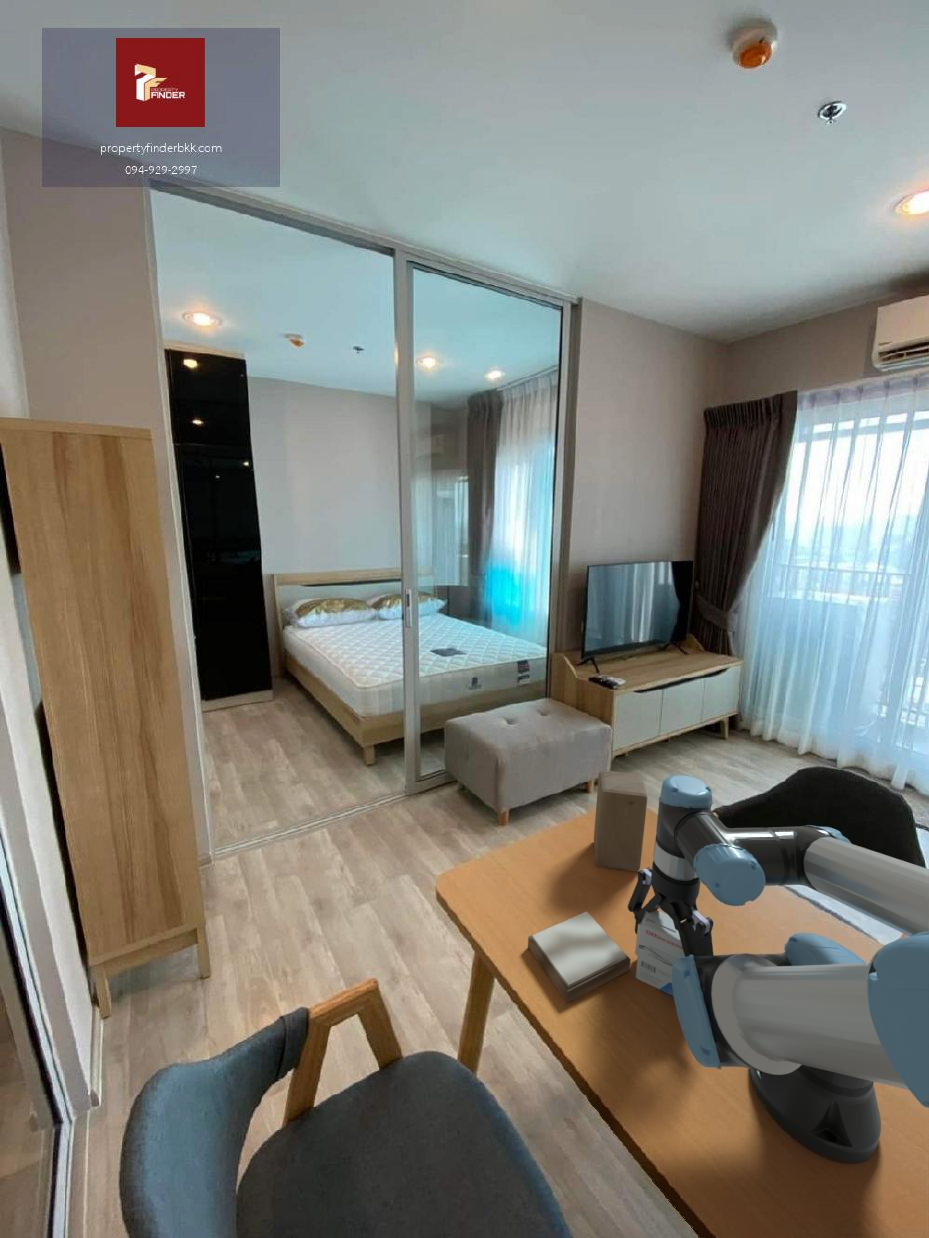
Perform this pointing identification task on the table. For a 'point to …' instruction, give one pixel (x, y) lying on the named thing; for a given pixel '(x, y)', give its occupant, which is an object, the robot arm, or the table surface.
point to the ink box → (658, 950)
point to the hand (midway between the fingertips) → (663, 974)
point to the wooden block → (619, 820)
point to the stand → (578, 955)
